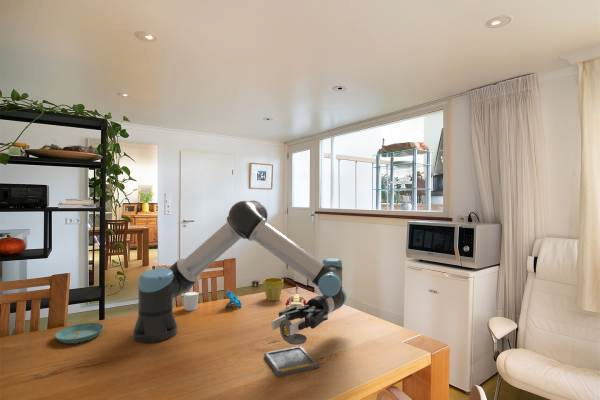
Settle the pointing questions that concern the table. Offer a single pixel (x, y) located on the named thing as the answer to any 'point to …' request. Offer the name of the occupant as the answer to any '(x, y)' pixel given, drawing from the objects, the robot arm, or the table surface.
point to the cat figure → (295, 300)
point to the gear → (233, 299)
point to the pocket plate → (290, 361)
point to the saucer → (85, 332)
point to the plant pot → (273, 288)
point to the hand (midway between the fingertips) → (281, 327)
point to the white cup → (191, 300)
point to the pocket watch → (290, 339)
